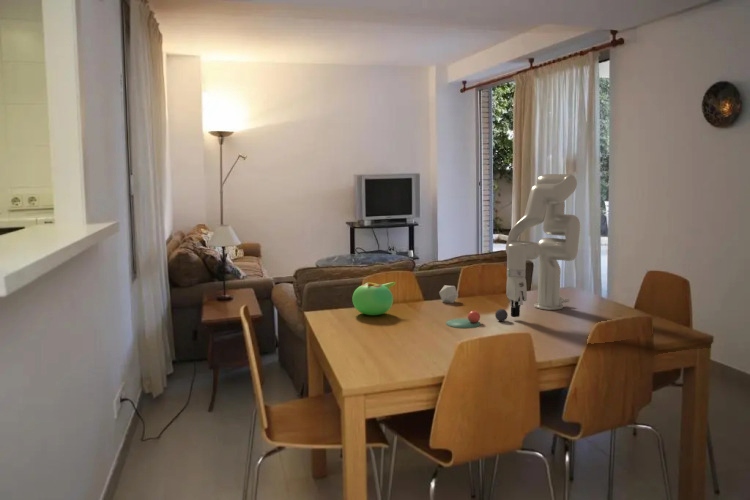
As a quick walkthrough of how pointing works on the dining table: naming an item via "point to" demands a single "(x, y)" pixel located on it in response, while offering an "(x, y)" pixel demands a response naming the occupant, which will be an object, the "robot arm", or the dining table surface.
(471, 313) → the red ball
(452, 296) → the die
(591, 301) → the dining table surface
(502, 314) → the black ball
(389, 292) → the green apple
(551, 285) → the robot arm
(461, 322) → the green mark
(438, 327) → the dining table surface
